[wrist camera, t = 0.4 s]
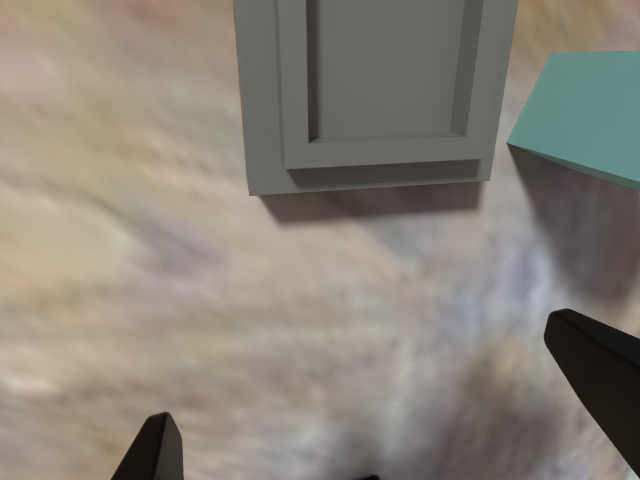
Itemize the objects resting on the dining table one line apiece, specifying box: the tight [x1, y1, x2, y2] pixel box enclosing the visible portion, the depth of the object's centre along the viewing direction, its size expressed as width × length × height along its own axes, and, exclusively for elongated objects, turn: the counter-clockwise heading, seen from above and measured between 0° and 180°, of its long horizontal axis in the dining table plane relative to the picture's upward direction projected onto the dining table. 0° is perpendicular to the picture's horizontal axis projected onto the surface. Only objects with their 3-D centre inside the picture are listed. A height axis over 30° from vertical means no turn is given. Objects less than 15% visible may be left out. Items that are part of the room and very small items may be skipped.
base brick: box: [233, 0, 518, 196], centre depth 18 cm, size 12×12×4 cm
